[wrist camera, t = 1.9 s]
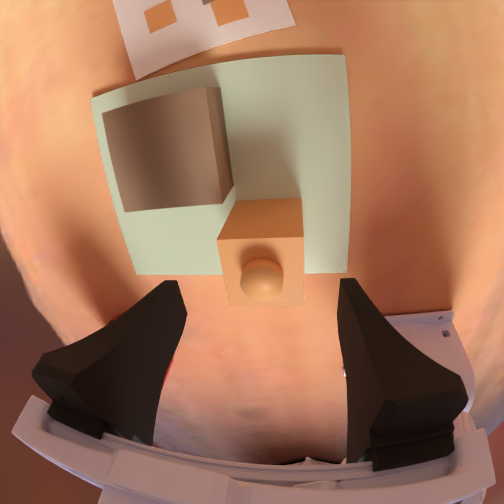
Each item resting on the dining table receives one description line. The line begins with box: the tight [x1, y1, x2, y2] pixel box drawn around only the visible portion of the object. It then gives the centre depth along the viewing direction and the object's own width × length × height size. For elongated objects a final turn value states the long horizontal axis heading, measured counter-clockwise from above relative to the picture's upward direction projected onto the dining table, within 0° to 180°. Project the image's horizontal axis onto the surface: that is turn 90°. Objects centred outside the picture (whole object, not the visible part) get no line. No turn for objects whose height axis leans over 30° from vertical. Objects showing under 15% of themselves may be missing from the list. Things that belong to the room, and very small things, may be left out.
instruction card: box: [113, 0, 296, 80], centre depth 11 cm, size 10×7×1 cm
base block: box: [102, 87, 234, 212], centre depth 15 cm, size 6×6×3 cm
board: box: [90, 54, 351, 275], centre depth 17 cm, size 16×14×1 cm
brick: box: [216, 198, 305, 306], centre depth 16 cm, size 4×4×6 cm
